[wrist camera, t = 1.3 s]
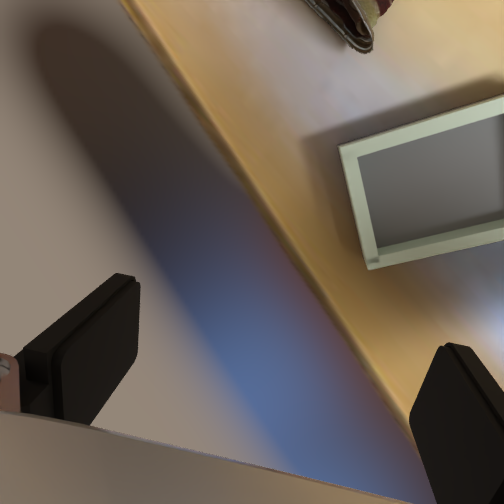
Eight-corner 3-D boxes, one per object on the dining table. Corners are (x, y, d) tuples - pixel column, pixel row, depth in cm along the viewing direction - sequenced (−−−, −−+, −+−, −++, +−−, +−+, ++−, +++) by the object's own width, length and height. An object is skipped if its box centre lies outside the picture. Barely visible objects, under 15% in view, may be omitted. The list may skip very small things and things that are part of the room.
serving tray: (525, 86, 29) (550, 82, 26) (535, 218, 33) (557, 228, 30) (336, 145, 33) (339, 147, 30) (363, 258, 37) (368, 270, 34)
